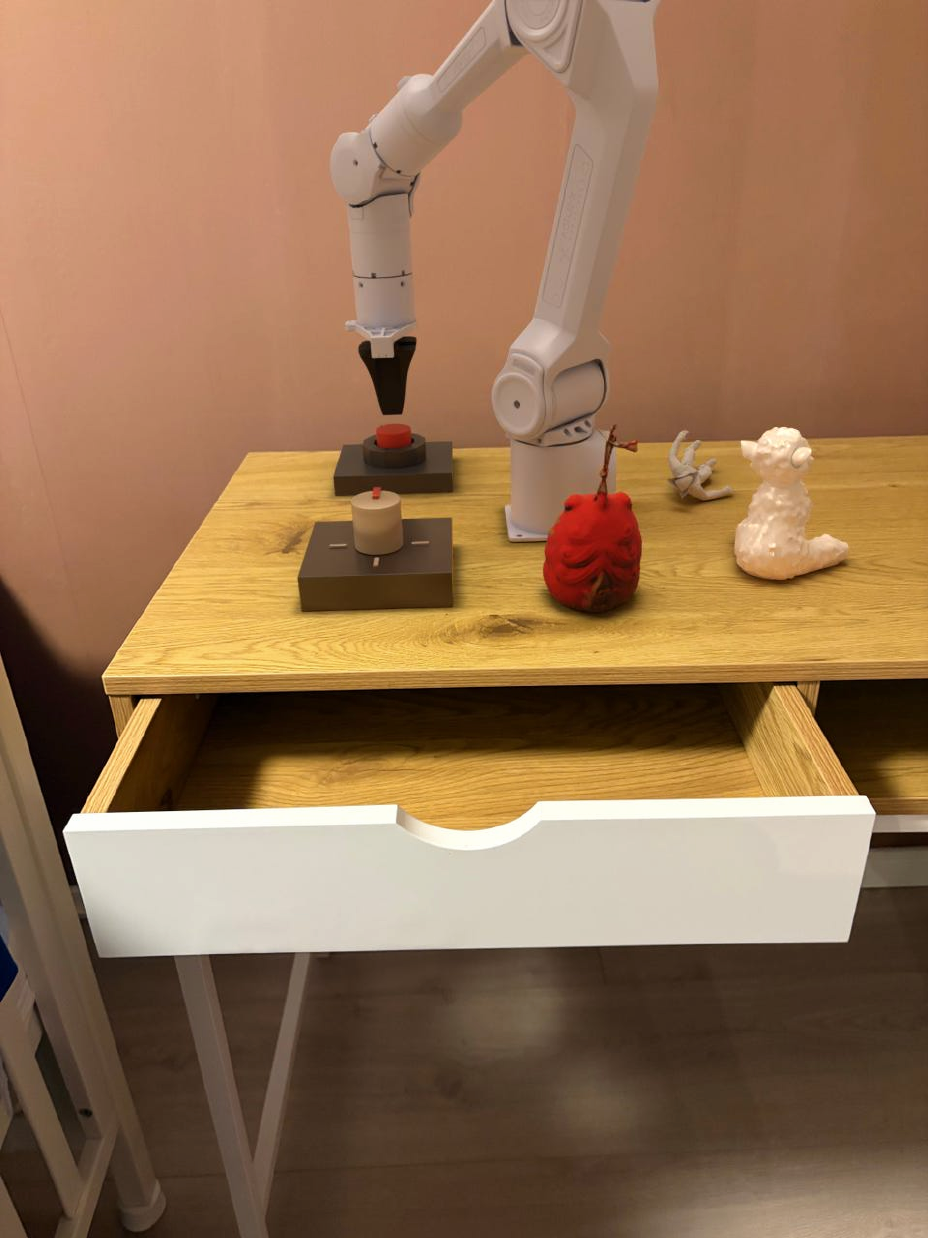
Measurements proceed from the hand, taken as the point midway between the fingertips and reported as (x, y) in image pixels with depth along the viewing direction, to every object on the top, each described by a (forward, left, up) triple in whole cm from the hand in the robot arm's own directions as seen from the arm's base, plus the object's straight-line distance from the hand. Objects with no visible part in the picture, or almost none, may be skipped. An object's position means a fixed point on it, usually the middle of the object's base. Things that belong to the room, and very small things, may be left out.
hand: (392, 413), depth 97 cm
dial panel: (0, +24, -7) cm, 25 cm away
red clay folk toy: (-17, +29, -7) cm, 34 cm away
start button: (0, 0, -3) cm, 3 cm away
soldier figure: (-30, +6, -7) cm, 31 cm away
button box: (0, 0, -7) cm, 7 cm away
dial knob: (0, +24, -4) cm, 24 cm away
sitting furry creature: (-33, +24, -7) cm, 41 cm away
